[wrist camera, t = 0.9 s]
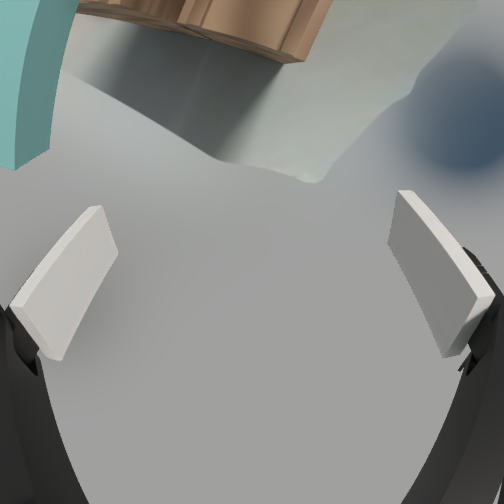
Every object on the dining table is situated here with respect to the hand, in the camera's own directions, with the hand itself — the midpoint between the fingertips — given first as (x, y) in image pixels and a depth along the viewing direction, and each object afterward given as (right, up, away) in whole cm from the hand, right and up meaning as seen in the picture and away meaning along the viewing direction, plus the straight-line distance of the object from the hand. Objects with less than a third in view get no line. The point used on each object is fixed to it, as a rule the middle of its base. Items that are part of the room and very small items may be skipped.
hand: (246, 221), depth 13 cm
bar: (-10, +14, -5) cm, 18 cm away
